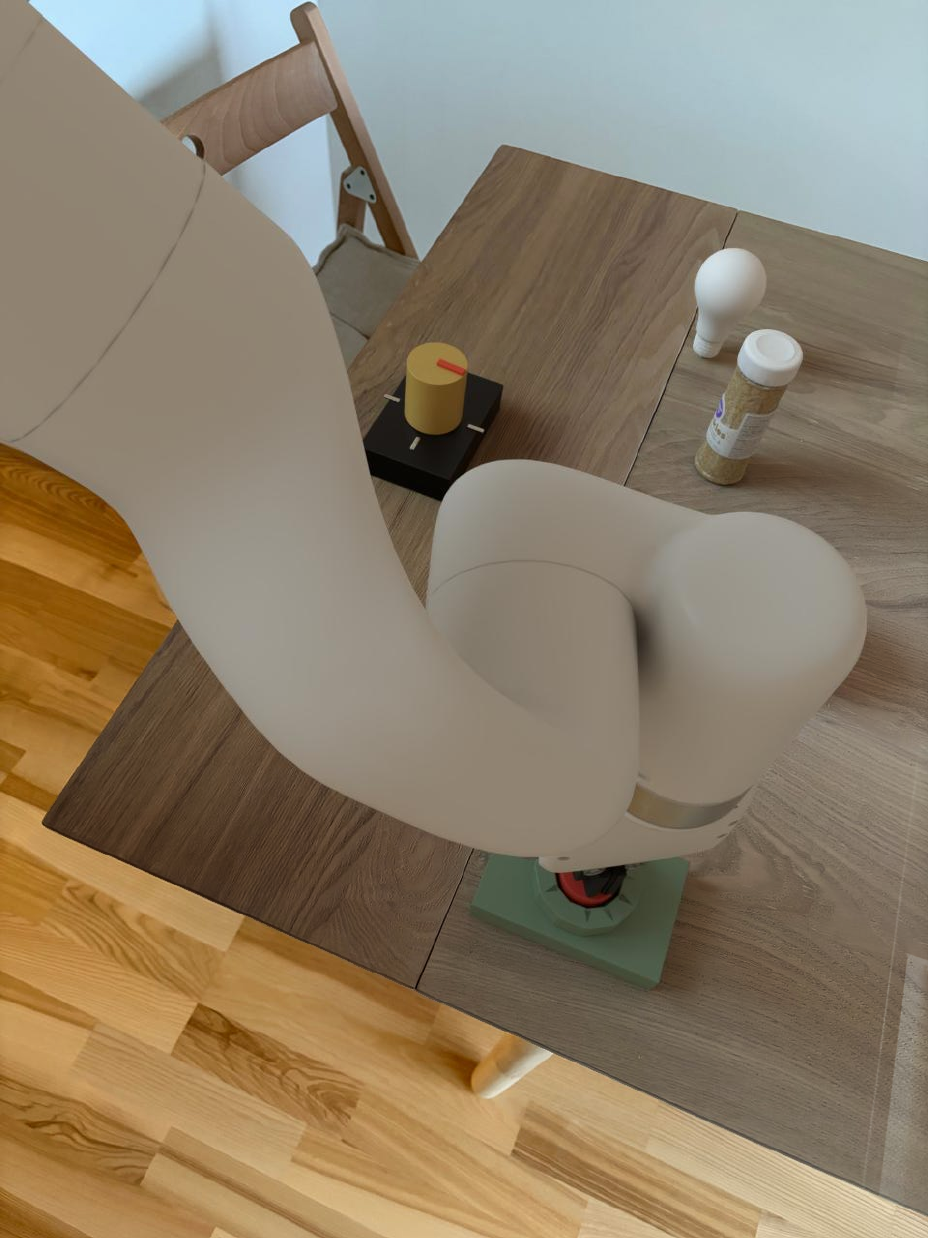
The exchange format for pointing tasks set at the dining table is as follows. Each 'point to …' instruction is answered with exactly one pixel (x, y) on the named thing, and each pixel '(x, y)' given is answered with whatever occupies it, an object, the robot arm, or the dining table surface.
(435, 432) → the lock knob
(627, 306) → the dining table surface
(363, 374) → the dining table surface
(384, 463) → the plate
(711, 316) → the lightbulb
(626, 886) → the green button box
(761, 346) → the spice jar
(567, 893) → the bell button
